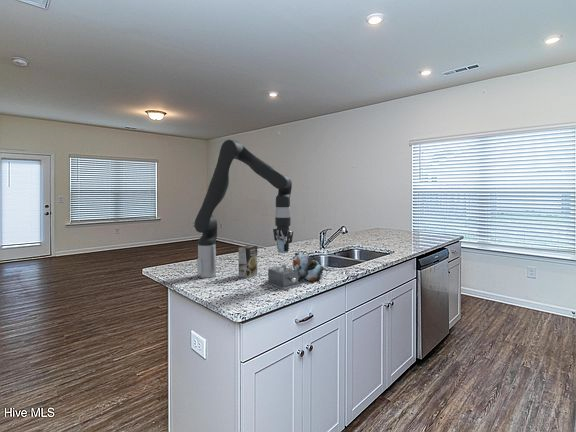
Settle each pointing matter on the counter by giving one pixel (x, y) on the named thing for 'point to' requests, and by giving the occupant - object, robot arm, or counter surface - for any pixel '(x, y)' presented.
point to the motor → (283, 277)
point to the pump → (281, 246)
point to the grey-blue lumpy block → (307, 267)
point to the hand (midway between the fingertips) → (282, 250)
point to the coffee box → (247, 261)
